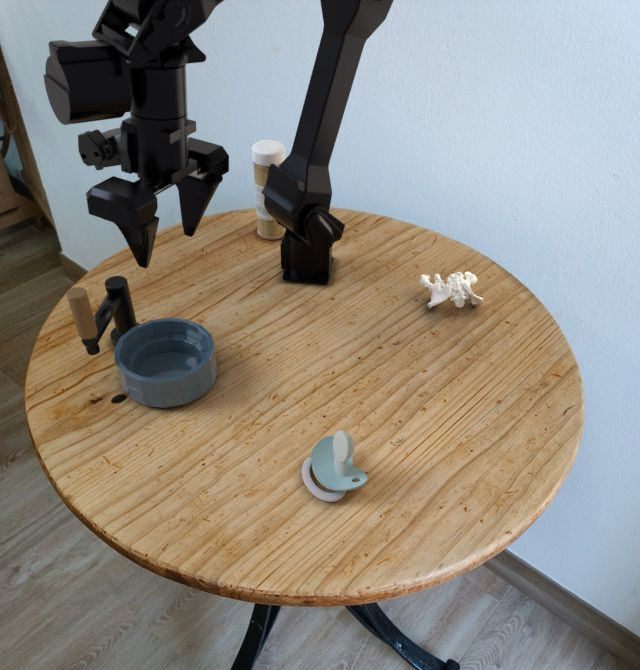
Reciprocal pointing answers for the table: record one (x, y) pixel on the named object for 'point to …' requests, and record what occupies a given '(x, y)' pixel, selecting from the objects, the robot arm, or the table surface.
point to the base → (115, 336)
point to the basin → (166, 362)
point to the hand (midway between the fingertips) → (167, 250)
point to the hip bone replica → (451, 289)
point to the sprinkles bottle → (262, 159)
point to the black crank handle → (102, 312)
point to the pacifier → (333, 467)
